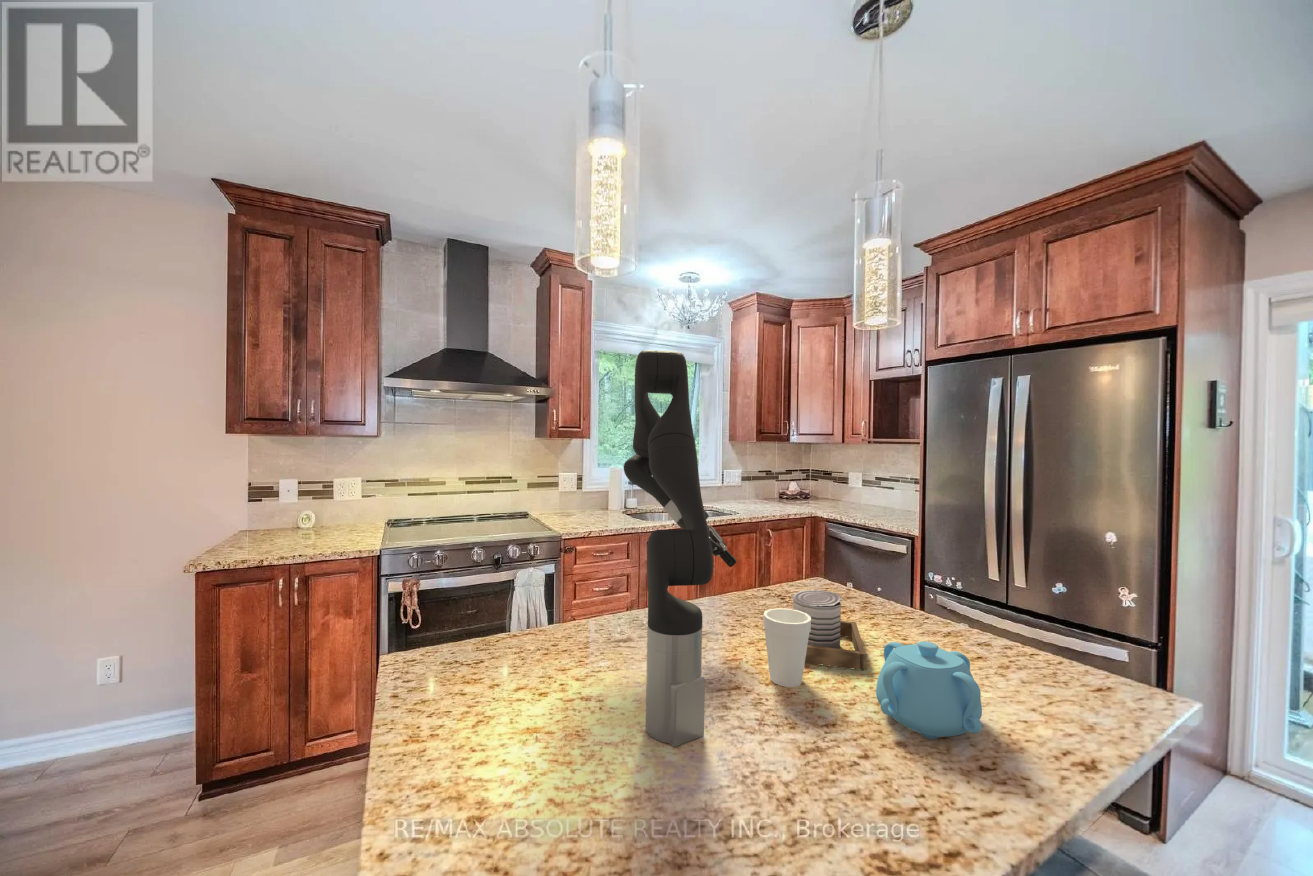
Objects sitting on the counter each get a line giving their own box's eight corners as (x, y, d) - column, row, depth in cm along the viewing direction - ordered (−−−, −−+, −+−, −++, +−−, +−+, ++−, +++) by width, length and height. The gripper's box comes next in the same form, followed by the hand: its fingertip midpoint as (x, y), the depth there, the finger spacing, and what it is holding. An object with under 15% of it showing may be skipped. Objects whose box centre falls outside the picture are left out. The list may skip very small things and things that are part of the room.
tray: (770, 658, 114) (771, 642, 114) (775, 626, 134) (775, 613, 134) (865, 670, 109) (866, 654, 109) (855, 636, 128) (856, 622, 128)
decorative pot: (882, 690, 100) (883, 621, 101) (979, 713, 92) (979, 638, 92) (870, 730, 86) (871, 649, 87) (982, 761, 78) (983, 672, 78)
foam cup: (805, 670, 108) (806, 609, 108) (814, 692, 99) (815, 625, 99) (759, 668, 109) (761, 607, 109) (764, 689, 100) (766, 622, 100)
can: (849, 655, 117) (850, 603, 117) (800, 655, 116) (801, 602, 116) (829, 636, 128) (830, 588, 128) (784, 636, 127) (785, 588, 127)
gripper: (691, 504, 122) (742, 560, 118) (701, 499, 135) (747, 549, 131) (669, 525, 123) (719, 581, 120) (681, 518, 136) (726, 568, 133)
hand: (734, 564), depth 126 cm, fingers closed
